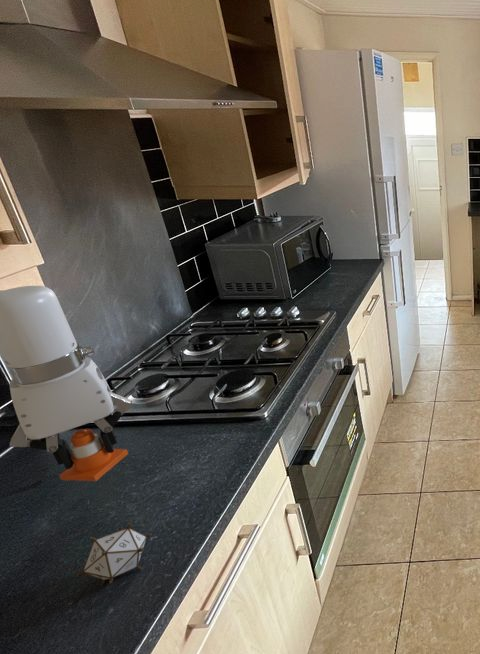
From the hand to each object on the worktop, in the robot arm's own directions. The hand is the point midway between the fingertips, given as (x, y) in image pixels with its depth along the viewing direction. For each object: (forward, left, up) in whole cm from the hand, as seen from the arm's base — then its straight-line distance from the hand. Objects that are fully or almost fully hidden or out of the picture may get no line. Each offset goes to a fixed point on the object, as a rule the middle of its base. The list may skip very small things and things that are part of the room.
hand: (90, 454), depth 71 cm
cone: (0, 0, -3) cm, 3 cm away
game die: (+5, -6, -20) cm, 21 cm away
